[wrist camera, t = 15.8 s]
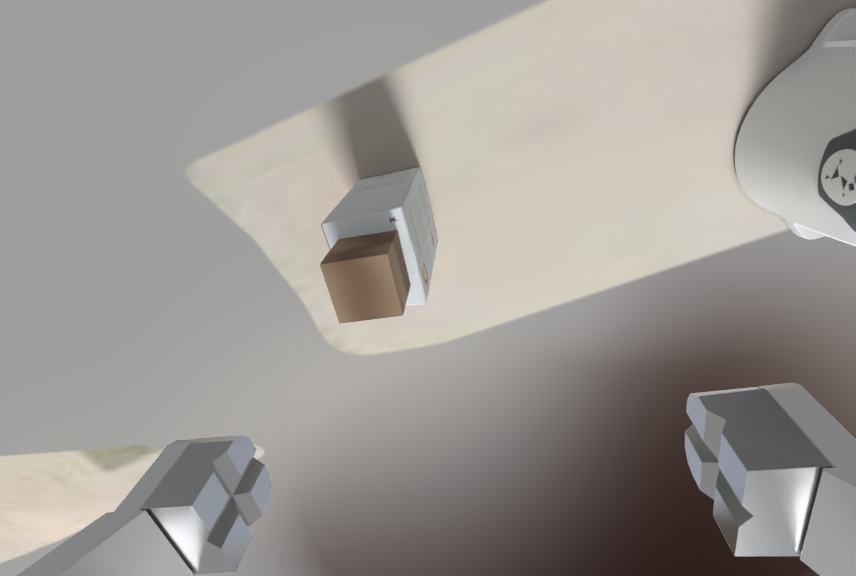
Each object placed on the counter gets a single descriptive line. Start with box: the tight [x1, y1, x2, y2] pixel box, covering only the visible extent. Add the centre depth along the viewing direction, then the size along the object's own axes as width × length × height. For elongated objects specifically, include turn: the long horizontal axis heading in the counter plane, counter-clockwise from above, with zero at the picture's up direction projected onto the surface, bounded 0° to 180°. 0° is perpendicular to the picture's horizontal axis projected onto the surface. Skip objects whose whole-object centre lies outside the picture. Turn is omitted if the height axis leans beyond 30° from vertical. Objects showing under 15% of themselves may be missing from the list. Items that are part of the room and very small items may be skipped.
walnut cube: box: [320, 230, 411, 323], centre depth 31 cm, size 4×4×4 cm
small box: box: [321, 167, 438, 306], centre depth 39 cm, size 8×6×13 cm
